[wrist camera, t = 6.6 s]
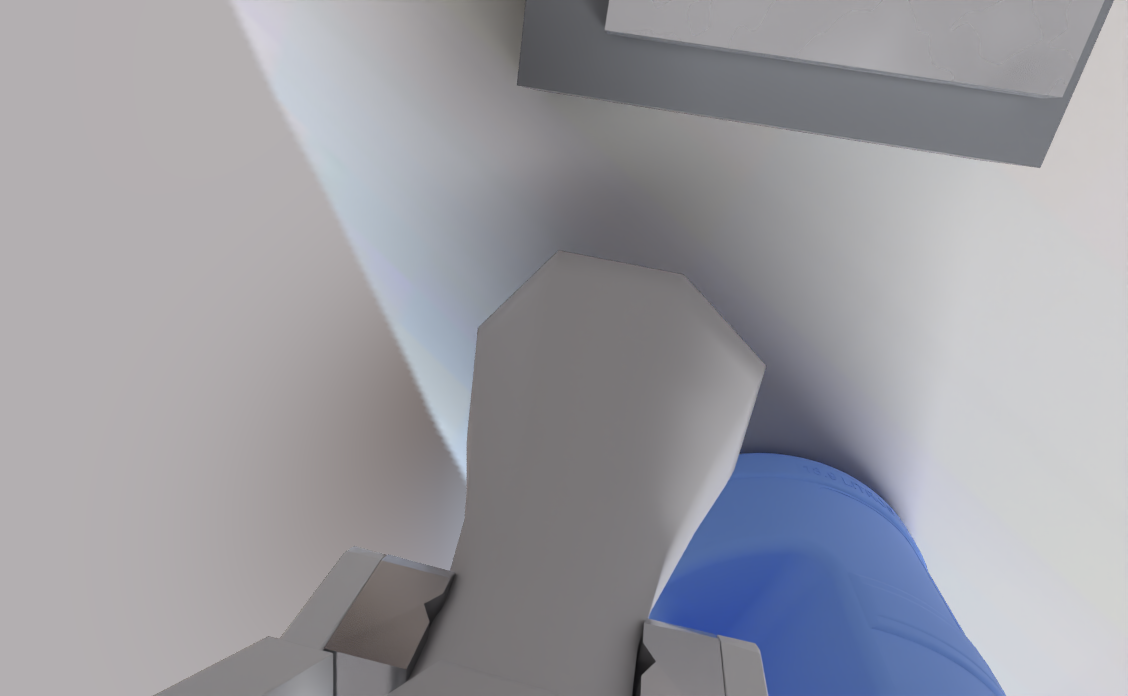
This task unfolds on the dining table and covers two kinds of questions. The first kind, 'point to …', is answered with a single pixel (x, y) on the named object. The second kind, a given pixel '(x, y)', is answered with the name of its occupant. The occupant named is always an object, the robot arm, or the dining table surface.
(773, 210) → the dining table surface
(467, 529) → the flask
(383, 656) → the robot arm
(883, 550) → the water jug
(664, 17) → the pan
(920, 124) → the base
